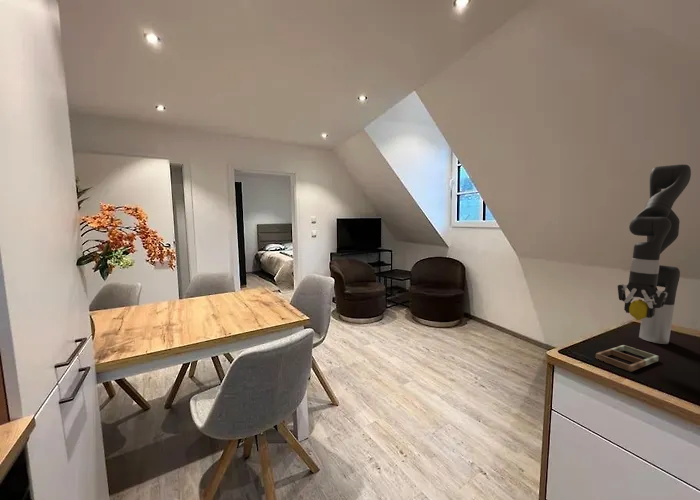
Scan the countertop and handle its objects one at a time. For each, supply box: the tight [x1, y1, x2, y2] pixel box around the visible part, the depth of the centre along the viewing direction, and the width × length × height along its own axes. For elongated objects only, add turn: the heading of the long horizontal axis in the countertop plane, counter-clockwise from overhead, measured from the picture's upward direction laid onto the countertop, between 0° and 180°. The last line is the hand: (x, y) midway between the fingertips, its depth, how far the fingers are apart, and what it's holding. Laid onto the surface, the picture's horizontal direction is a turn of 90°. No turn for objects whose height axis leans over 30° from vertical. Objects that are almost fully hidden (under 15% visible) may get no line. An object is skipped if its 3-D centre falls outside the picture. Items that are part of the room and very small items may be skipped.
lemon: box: [629, 298, 649, 321], centre depth 112 cm, size 6×6×8 cm
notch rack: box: [595, 344, 660, 373], centre depth 112 cm, size 20×11×2 cm, turn 115°
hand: (638, 314), depth 112 cm, fingers closed on lemon, 5 cm apart
